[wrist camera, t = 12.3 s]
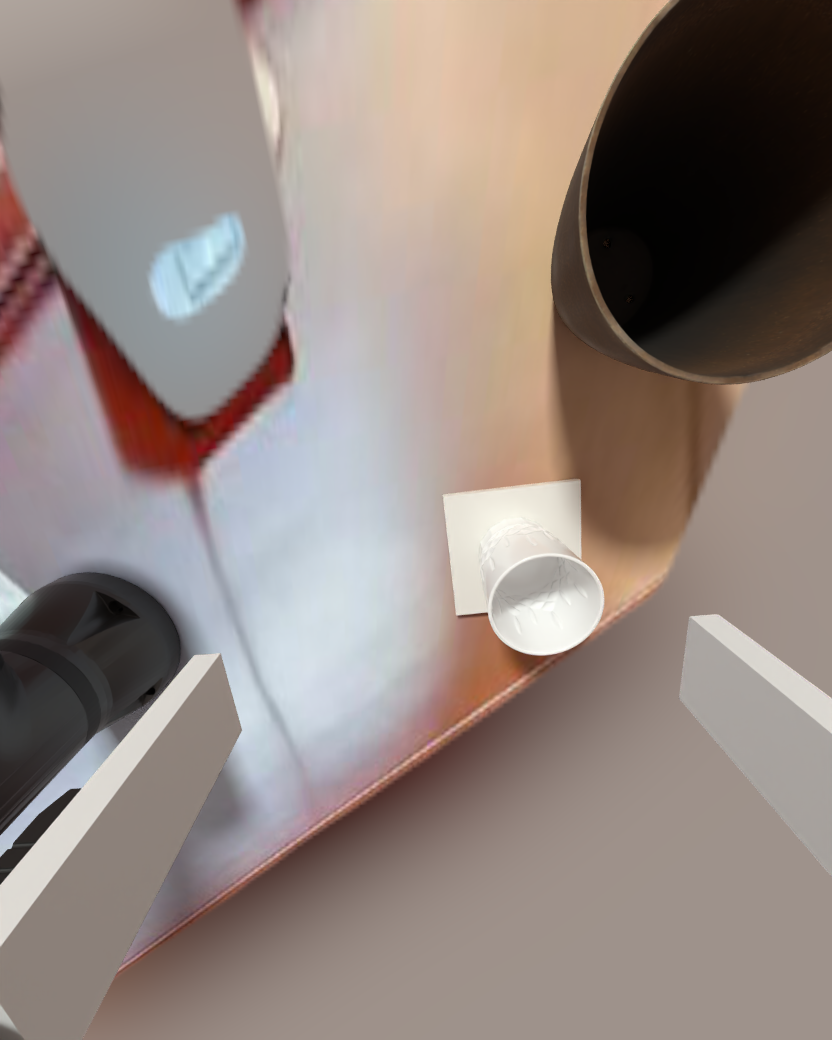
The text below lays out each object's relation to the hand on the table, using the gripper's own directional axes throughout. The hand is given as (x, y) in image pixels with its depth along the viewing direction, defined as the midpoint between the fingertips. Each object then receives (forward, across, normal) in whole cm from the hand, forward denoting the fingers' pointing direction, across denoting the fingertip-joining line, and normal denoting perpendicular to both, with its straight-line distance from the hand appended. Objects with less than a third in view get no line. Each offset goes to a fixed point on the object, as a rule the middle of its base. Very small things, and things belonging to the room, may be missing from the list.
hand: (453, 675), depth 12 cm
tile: (+26, +7, -7) cm, 28 cm away
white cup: (+25, +7, -7) cm, 27 cm away
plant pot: (+26, +15, +14) cm, 33 cm away
